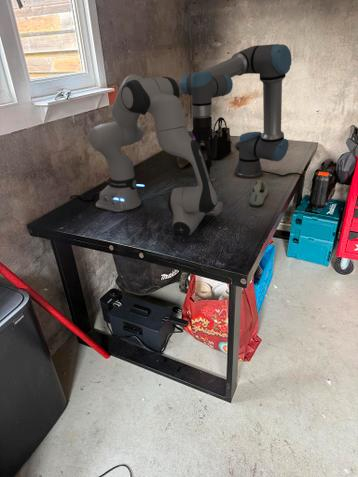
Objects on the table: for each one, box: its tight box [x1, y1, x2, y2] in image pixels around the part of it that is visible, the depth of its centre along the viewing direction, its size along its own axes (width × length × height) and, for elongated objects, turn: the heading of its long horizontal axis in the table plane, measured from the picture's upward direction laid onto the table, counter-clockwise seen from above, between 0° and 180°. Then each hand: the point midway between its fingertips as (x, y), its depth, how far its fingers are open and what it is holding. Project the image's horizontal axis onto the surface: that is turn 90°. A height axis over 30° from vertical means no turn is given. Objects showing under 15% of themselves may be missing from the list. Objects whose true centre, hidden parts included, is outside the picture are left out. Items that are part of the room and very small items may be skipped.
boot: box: [175, 156, 191, 169], centre depth 209 cm, size 9×24×20 cm, turn 168°
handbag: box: [210, 116, 232, 161], centre depth 217 cm, size 21×9×25 cm, turn 148°
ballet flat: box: [249, 179, 269, 207], centre depth 158 cm, size 8×24×8 cm, turn 163°
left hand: (203, 198), depth 146 cm, fingers closed on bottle, 5 cm apart
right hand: (203, 174), depth 139 cm, fingers closed on cap, 4 cm apart
